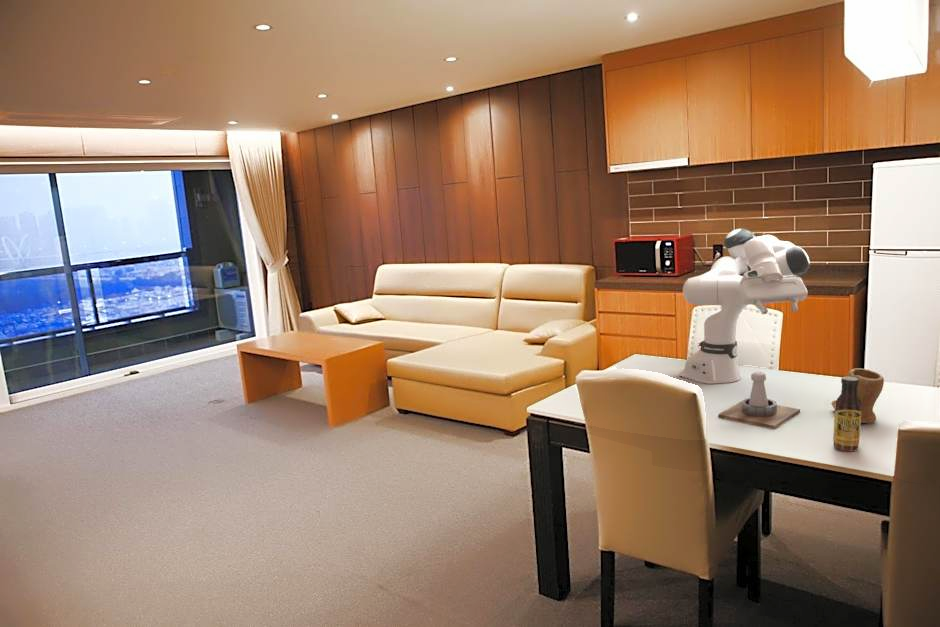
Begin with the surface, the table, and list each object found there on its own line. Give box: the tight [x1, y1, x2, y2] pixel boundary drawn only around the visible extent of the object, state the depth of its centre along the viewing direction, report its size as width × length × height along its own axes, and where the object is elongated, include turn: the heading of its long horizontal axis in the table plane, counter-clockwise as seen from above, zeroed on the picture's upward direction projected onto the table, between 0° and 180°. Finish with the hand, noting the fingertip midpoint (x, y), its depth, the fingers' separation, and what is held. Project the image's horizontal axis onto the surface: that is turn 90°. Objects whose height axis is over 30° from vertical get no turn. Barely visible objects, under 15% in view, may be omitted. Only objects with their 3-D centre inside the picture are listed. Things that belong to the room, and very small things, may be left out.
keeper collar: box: [742, 398, 778, 417], centre depth 214 cm, size 10×10×3 cm
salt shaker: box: [749, 371, 769, 407], centre depth 213 cm, size 6×6×13 cm
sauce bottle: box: [832, 376, 862, 452], centre depth 183 cm, size 7×6×20 cm
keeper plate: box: [718, 400, 801, 430], centre depth 215 cm, size 18×18×1 cm
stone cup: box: [830, 367, 885, 424], centre depth 205 cm, size 15×12×15 cm
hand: (780, 311), depth 215 cm, fingers open, 8 cm apart
